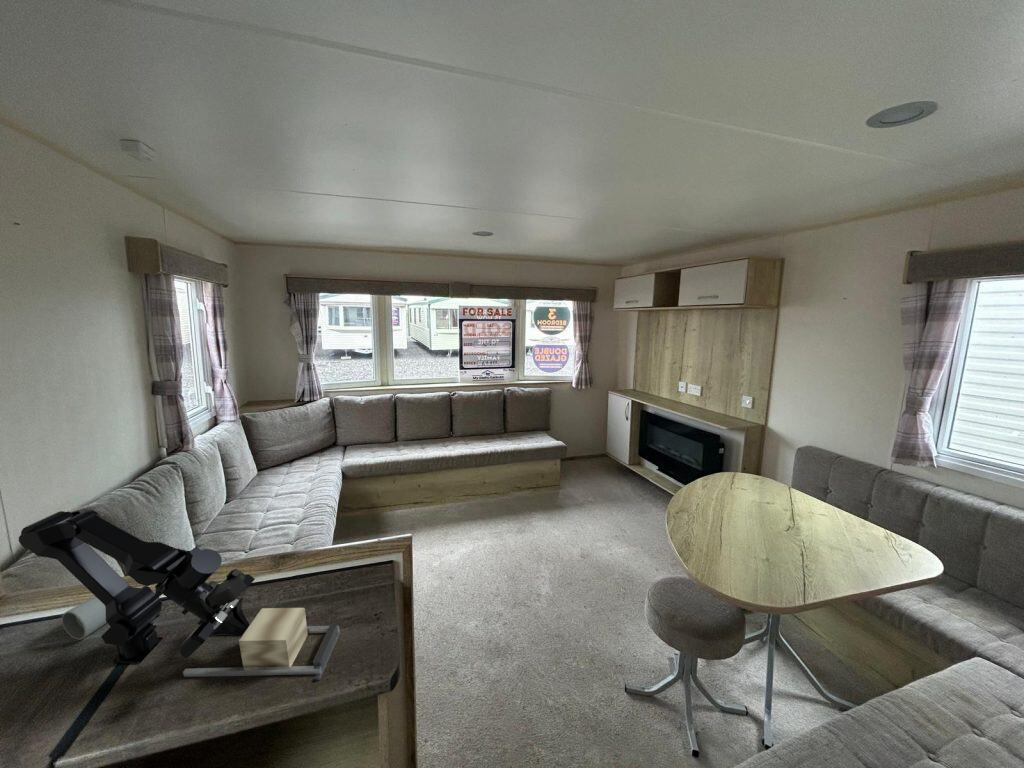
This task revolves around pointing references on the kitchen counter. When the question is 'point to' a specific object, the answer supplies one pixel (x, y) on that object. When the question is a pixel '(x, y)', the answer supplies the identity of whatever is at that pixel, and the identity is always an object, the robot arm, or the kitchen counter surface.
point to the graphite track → (317, 669)
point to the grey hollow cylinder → (84, 618)
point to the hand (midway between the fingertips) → (250, 633)
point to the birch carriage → (274, 637)
